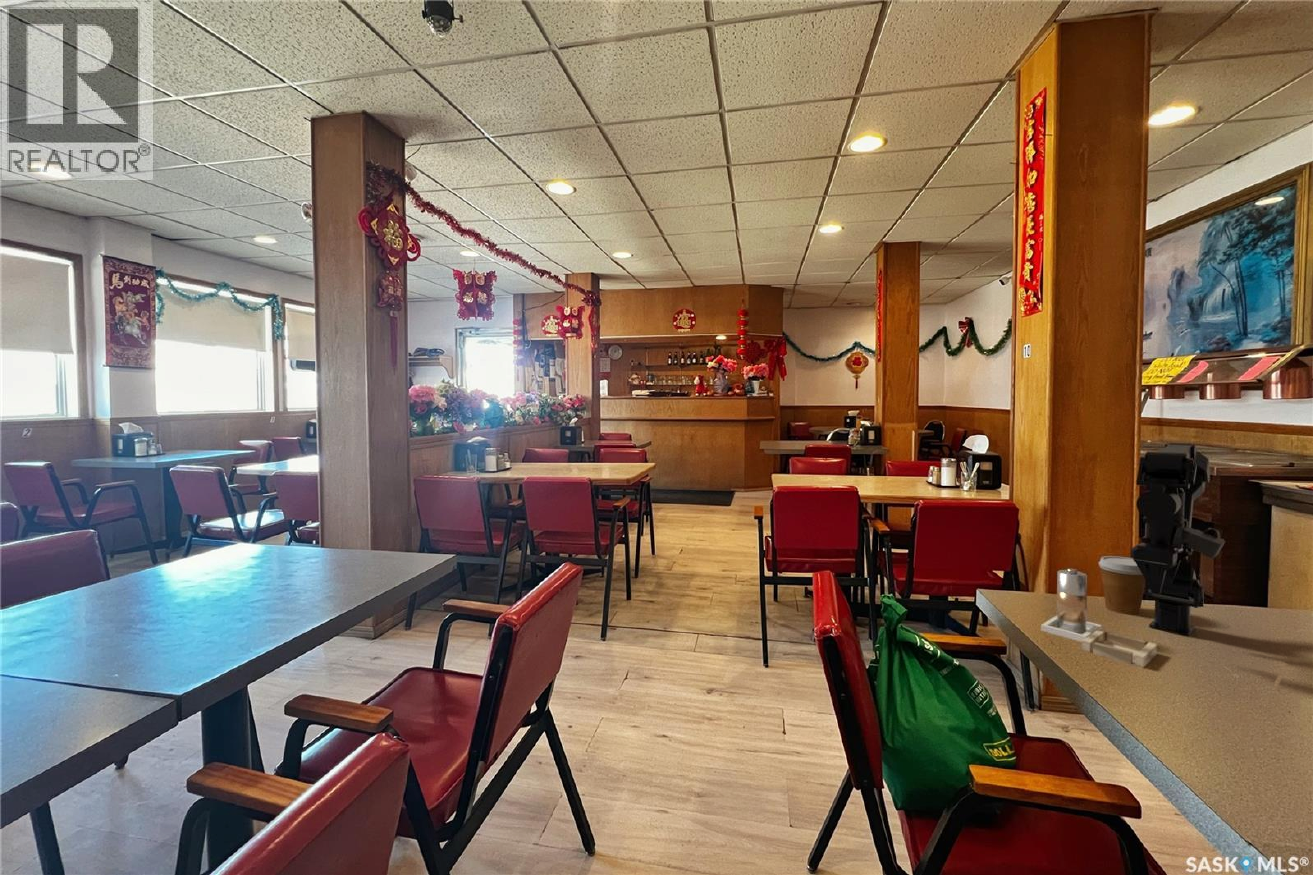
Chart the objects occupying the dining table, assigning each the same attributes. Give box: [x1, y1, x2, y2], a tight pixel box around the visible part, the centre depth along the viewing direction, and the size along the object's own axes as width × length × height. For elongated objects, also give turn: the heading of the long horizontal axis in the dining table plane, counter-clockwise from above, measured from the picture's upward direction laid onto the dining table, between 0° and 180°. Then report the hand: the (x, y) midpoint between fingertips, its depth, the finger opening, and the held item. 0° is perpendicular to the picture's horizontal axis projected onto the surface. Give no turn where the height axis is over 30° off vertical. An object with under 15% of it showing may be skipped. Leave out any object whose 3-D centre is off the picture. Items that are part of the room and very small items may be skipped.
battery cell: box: [1056, 568, 1088, 635], centre depth 119 cm, size 5×5×13 cm
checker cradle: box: [1081, 629, 1158, 669], centre depth 109 cm, size 9×9×2 cm
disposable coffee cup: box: [1098, 555, 1145, 615], centre depth 133 cm, size 10×10×12 cm
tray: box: [1040, 615, 1103, 643], centre depth 120 cm, size 10×8×2 cm
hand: (1162, 589), depth 112 cm, fingers open, 9 cm apart
